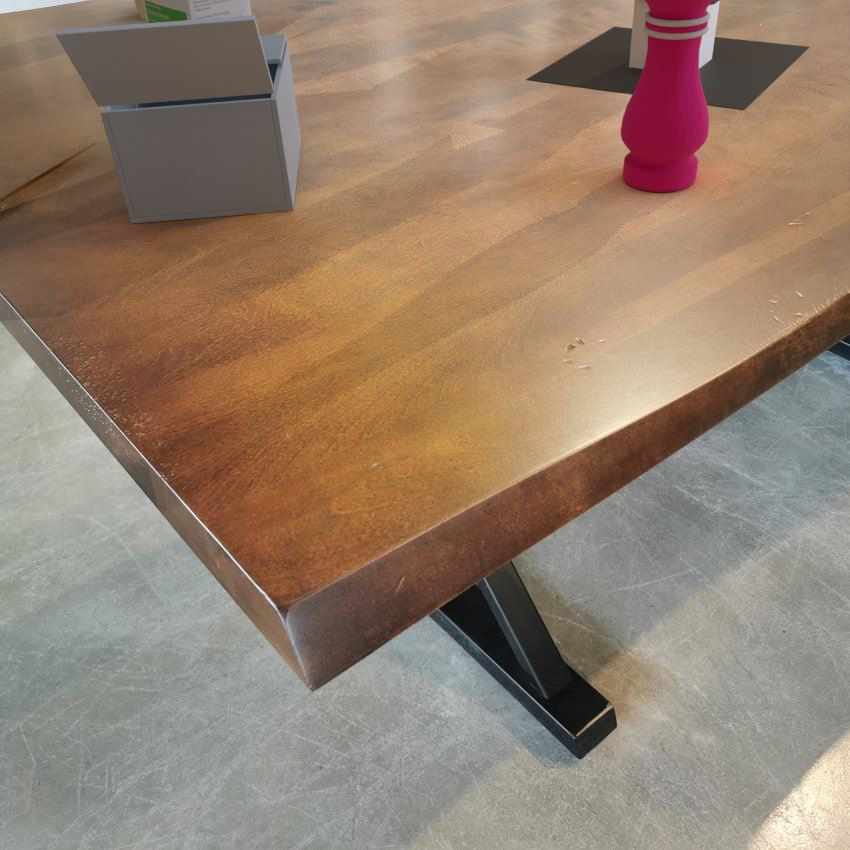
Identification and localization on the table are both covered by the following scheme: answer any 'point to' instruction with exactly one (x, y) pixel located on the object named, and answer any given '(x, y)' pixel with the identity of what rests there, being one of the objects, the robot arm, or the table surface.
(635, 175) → the pepper mill
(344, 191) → the table surface
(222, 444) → the table surface
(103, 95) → the flap
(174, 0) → the cosmetic box
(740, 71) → the dark grey square mat
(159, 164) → the carton
